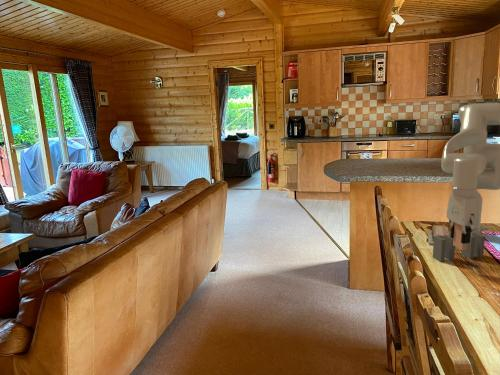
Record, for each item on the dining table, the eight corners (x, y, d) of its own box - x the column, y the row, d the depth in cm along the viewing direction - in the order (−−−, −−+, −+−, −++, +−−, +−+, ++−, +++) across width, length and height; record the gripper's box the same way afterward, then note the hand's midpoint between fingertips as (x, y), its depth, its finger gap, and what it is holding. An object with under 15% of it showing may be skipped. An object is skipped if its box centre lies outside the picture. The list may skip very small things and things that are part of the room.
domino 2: (445, 256, 154) (447, 234, 152) (454, 260, 149) (455, 238, 148) (442, 256, 154) (443, 235, 152) (450, 261, 149) (452, 239, 147)
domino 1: (436, 257, 154) (437, 235, 152) (444, 261, 149) (445, 239, 147) (432, 257, 153) (434, 236, 152) (440, 262, 149) (442, 240, 147)
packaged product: (428, 223, 182) (452, 225, 178) (427, 233, 183) (451, 235, 179) (429, 235, 166) (454, 237, 162) (428, 246, 167) (454, 248, 163)
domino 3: (456, 244, 142) (458, 221, 140) (466, 249, 138) (468, 225, 136) (452, 245, 142) (454, 222, 140) (462, 250, 137) (464, 226, 135)
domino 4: (464, 254, 156) (466, 233, 154) (473, 258, 151) (475, 237, 149) (461, 254, 155) (462, 233, 153) (469, 259, 150) (471, 237, 149)
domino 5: (473, 253, 156) (475, 232, 154) (483, 257, 151) (485, 236, 150) (470, 253, 156) (472, 232, 154) (479, 258, 151) (481, 236, 149)
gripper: (438, 187, 143) (435, 233, 147) (471, 198, 126) (467, 250, 131) (456, 185, 144) (453, 231, 148) (491, 196, 127) (486, 247, 132)
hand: (460, 239), depth 139 cm, fingers closed on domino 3, 4 cm apart
